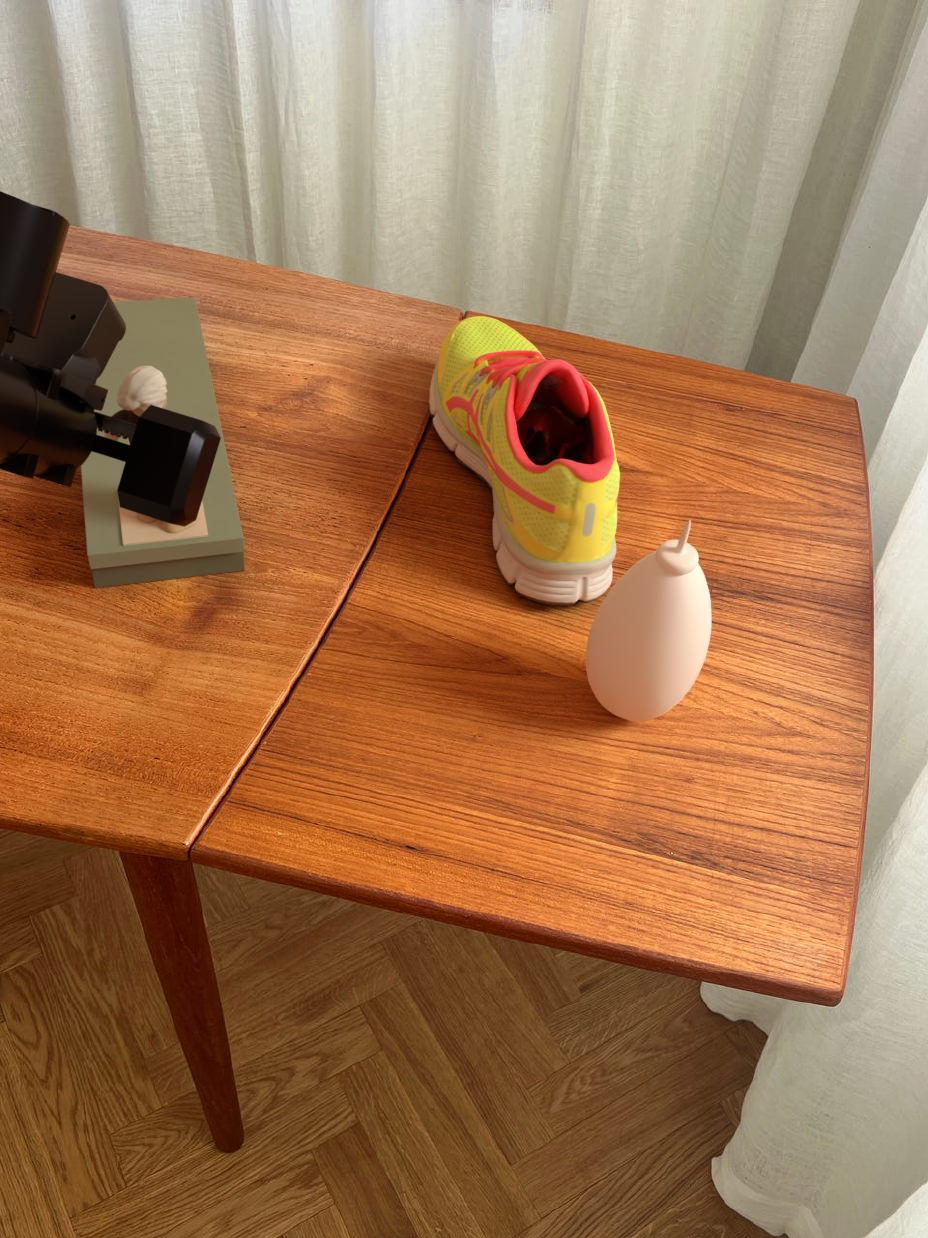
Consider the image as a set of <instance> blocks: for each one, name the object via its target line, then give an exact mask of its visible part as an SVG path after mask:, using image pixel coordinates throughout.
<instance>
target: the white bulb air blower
mask: <svg viewBox="0 0 928 1238" xmlns="http://www.w3.org/2000/svg"><path fill="white" fill-rule="evenodd" d="M691 526H692V521H691V519H689V520H688V521H686V524H685V525H684V528H683V529H682V532H681V534H680V537H679V539H676V538H675V539H673V538H672V539H667V540H665V541H664V542H662V543H661V544H660V545H659V546H658V547H657V549H656V550H654V551H652V552H649V554H646V555H644V557H642V558H641V559H639V560H638V561H636V562H635V563H634V564H632V566H630V567H629V568H628V569H627V570H626V571H625V572H624V573H623V574H622V576H620V577H619V579H618V580H617V581H616V582H615V583H614V585H613V586H612V588H611V589H610V590H609V591H608V593H607V595H606V596H605V597H604V599H603V600H602V602H601V603H600V606H599V608H598V610H597V611H596V614H595V616H594V619H593V622H592V623H591V626H590V630H589V633H588V637H587V641H586V646H585V647H586V649H585V660H584V661H585V671H586V676H587V681H588V684H589V687H590V689H591V691H592V692H593V694H594V697H595V698H596V700H597V701H598V703H599V704H600V705H601V706H602V707H603V708H604V709H606V711H608V712H610V713H611V714H612V715H614V716H616V717H618V718H621V719H623V720H626V721H630V722H646V721H647V722H648V721H651V720H653V719H656V718H658V717H661V716H663V715H664V714H666V713H667V712H669V711H670V710H672V709H673V708H675V706H677V705H678V704H679V703H680V702H681V701H682V700H683V699H684V697H685V696H686V695H687V694H688V693H689V691H690V690H691V688H692V687H693V686H694V684H695V682H696V681H697V678H698V676H699V675H700V673H701V670H702V669H703V665H704V664H705V661H706V658H707V653H708V649H709V647H710V646H709V645H710V641H711V636H712V627H713V626H712V624H713V623H712V617H713V616H712V602H711V601H712V600H711V593H710V589H709V586H708V582H707V579H706V576H705V573H704V571H703V569H702V567H701V566H700V564H699V560H700V558H699V557H700V556H699V553H698V550H697V549H696V548H695V547H694V546H693V545H692V544H690V543H688V538H689V536H690V535H689V534H690V530H691Z"/></svg>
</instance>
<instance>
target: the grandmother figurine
mask: <svg viewBox="0 0 928 1238" xmlns="http://www.w3.org/2000/svg"><path fill="white" fill-rule="evenodd" d="M166 384H167V382H166V379H165V378H164V376H163V374H162V372H160V371H159V370H157V369H155V368H154V367H152V366H139V367H137V368H135V369H134V370H131V371H130V372H129V373H128V374H127V375H126V377H125V378H124V379H123V381H122V383H121V385H120V387H119V392H118V393H116V394H117V403H118V405H119V406H120V407H121V408H123V409H122V410H120V411H118V412H116V413H115V414H114V415H113V416H111V417H114V418H117V419H120V420H123V421H126V422H130V423H133V424H136V425H137V422H138V419H139V417H140V415H141V414H142V413H143V412H144V411H145V410H146V409H147V408H148V407H149V406H150V405H154V406H157V407H160V408H163V409H165V407H166V404H167V396H166V392H167V389H166ZM104 437H106V438H109V439H112V440H115V441H118V440H119V437H116V434H115V435H114V436H113V435H110V432H109V434H107V433H105V434H104ZM129 443H130V445H131V443H132V441H129ZM137 518H138V519H139V520H141V521H143V522H154V521H156V520H157V519H155V518H152V517H149V516H146V515H142V514H139V513H137ZM198 519H199V517H198V516H197V519H196V521H194V522H192V523H190V524H189V525H187V526H185V527H184V526H179V525H174V524H170V523H167V522H164V521H163V522H162V527H163V529H164V530H166V531H167V532H169V533H177V532H180V531H182V530H184V529H187V528H189V527H191V526H193V525H195V524H196V523H197V522H198Z"/></svg>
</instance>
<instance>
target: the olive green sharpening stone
mask: <svg viewBox="0 0 928 1238" xmlns="http://www.w3.org/2000/svg"><path fill="white" fill-rule="evenodd" d="M196 299H197V298H196V297H195V296H190V297H174V298H157V299H156V298H155V299H139V300H138V299H137V300H121V301H119V300H118V301H113V303H114V304H115V306H116V308H117V310H118V311H119V313H120V315H121V317H122V318H123V320H124V322H125V324H126V332H125V334H124V336H123V338H122V340H120V341H119V342H118V344H117V346H116V348H115V350H114V351H113V353H112V355H111V357H110V359H109V361H108V363H107V365H106V367H105V369H104V371H103V372H102V374H101V375H100V377H99V378H97V381H96V385H98V386H100V387H103V388H105V389H107V390H108V393H107V396H106V400H105V403H104V406H103V409H102V410H101V411H99V410H95V409H94V412H97V413H101V414H104V415H107V416H110V417H111V416H113V415H114V414H115V413H116V412H118V411H120V410H122V409H123V408H121V407H120V406H119V405H118V403H117V394H116V393H118V392H119V387H120V385H121V383H122V381H123V379H124V378H125V377H126V375H127V374H128V373H129V372H130V371H131V370H134V369H135V368H137V367H139V366H152V367H154V368H155V369H157V370H159V371H160V372H162V374H163V376H164V378H165V379H166V382H167V384H166V389H167V392H166V396H167V404H166V407H165V409H167V410H170V411H173V412H176V413H180V414H183V415H186V416H189V417H193V418H196V419H199V420H202V421H205V422H207V423H209V424H211V425H214V426H215V427H216V429H217V431H218V433H219V435H220V437H221V440H220V443H219V446H218V450H217V453H216V456H215V459H214V463H213V466H212V469H211V473H210V476H209V479H208V483H207V486H206V489H205V492H204V496H203V499H202V502H201V506H200V509H199V512H198V517H199V519H198V522H197V523H196V524H195V525H193V526H191V527H189V528H187V529H184V530H182V531H180V532H177V533H169V532H167V531H166V530H164V529H163V527H162V522H163V521H161V520H158V519H157V520H156V521H154V522H143V521H141V520H139V519H138V518H137V513H136V512H133V511H130V510H127V509H124V508H121V507H120V504H119V498H118V492H117V489H118V486H119V483H120V479H121V476H122V473H123V469H124V466H125V463H126V462H124V461H121V460H117V459H114V458H111V457H108V456H105V455H102V454H99V453H95V452H91V453H90V455H89V457H88V458H87V460H86V461H85V462H84V463H83V464H82V465H81V466H80V473H81V475H80V476H81V488H82V489H81V490H82V500H83V502H82V504H83V516H84V517H83V518H84V529H85V530H84V531H85V540H86V541H85V543H86V555H87V561H88V565H89V569H90V571H91V577H92V582H93V586H94V588H95V589H101V588H109V587H117V586H125V585H135V584H143V583H150V582H158V581H159V582H161V581H168V580H177V579H185V578H192V577H201V576H209V575H210V576H211V575H218V574H219V575H220V574H226V573H233V572H234V573H235V572H244V571H245V570H246V565H245V562H246V561H245V538H244V532H243V527H242V523H241V518H240V517H241V516H240V513H239V508H238V503H237V498H236V492H235V487H234V484H233V482H234V481H233V477H232V473H231V468H230V463H229V458H228V453H227V449H226V443H225V438H224V433H223V428H222V423H221V418H220V414H219V413H220V412H219V409H218V404H217V399H216V394H215V388H214V384H213V383H214V382H213V378H212V374H211V369H210V364H209V359H208V354H207V349H206V344H205V339H204V333H203V330H202V329H203V328H202V323H201V320H200V314H199V308H198V304H197V300H196ZM104 434H105V433H104V430H103V432H100V431H98V428H97V435H99V436H103V437H104ZM118 442H122V443H125V444H128V445H130V443H129V440H128V438H127V439H123V438H122V436H121V437H120V438H119V440H118Z"/></svg>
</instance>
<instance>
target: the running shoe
mask: <svg viewBox="0 0 928 1238" xmlns="http://www.w3.org/2000/svg"><path fill="white" fill-rule="evenodd" d="M431 376H432V377H431V381H430V387H429V397H428V398H429V400H428V403H429V416H430V418H432V424H433V429H434V430H435V434H436V435H437V436H438V437H439V438H440V440H441V442H442V443H443V445H444V447H445V448H446V449H447V450H448V451H449V452H450V453H454V455H455V457H457V461H458V463H460V464H461V465H462V466H463V467H465V468H466V469H469V470H470V471H472V472H473V473H475V475H476V477H478V478H479V479H480V480H481V481H482V482H483V483H485V484H486V486H487V487H488V488H489V489H490V490H491V491H492V500H493V502H492V503H493V518H492V548H493V552H495V553H496V554H495V559H496V561H495V562H496V565H497V569H498V571H499V572H500V575H501V576H502V578H503V580H504V581H505V582H506V583H507V584H508V585H510V586H512V585H514V589H515V593H517V595H519V596H522V597H523V598H526V599H529V600H531V601H534V602H537V603H541V604H545V605H551V606H552V605H553V606H560V607H561V606H573V605H575V603H576V602H577V601H579V602H581V603H583V604H589V603H591V602H594V601H595V600H598V599H599V598H601V597H602V596H604V595H605V593H606V592H607V591H608V589H609V588H610V586H611V585H612V583H613V576H614V575H613V574H614V573H613V572H614V571H613V564H612V563H613V562H614V561H615V558H616V555H617V542H616V537H615V536H616V533H617V528H618V498H619V494H620V480H621V471H620V467H619V463H618V459H617V454H616V448H615V440H614V434H613V430H612V426H611V423H610V418H609V413H608V410H607V407H606V404H605V401H604V400H603V398H602V395H600V393H599V391H598V389H597V388H596V387H595V386H594V385H593V383H592V382H591V381H589V380H588V379H587V378H586V377H584V375H583V374H582V373H581V372H580V371H578V369H576V368H575V367H574V366H573V365H572V364H571V363H570V362H568V361H565V360H563V359H559V358H558V359H557V358H554V359H553V358H552V359H546V358H545V357H544V355H543V354H542V353H541V351H540V350H539V349H538V348H537V347H536V346H535V345H534V344H533V343H532V342H531V341H529V340H528V339H527V338H526V337H524V336H523V335H522V334H520V332H518V331H517V330H515V328H512V327H511V326H510V325H508V324H506V323H504V322H502V321H500V320H499V319H496V318H494V317H489V316H485V315H478V316H477V315H475V316H469V317H466V318H462V320H459V321H458V322H456V323H455V324H454V325H453V326H452V328H450V330H449V331H448V333H447V334H446V335H445V337H444V338H443V341H442V343H441V346H440V350H439V354H438V356H437V359H436V362H435V366H434V369H433V372H432V375H431Z"/></svg>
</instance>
